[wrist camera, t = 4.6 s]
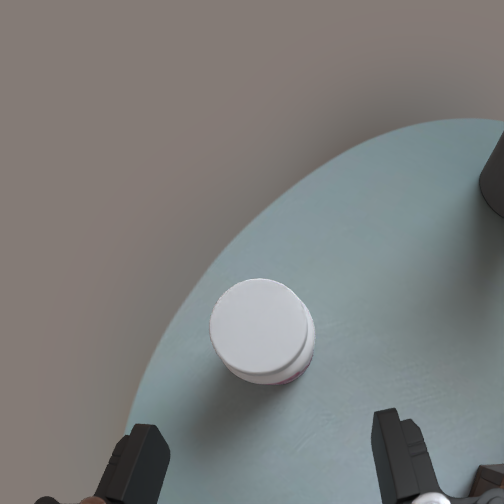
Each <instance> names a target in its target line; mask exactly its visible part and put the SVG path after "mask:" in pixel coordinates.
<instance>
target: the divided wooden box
mask: <svg viewBox="0 0 504 504" xmlns="http://www.w3.org/2000/svg"><path fill="white" fill-rule="evenodd" d="M493 488H501V489H504V464H493V465H480V466H479V469H478V472H477V475H476V478H475V481H474V483H473V486H472V489H471V492H470V494H469V497H479V496H481V495H482V494H483V493H484V492H486V491H487V490H490V489H493Z"/></svg>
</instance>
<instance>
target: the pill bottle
mask: <svg viewBox="0 0 504 504" xmlns="http://www.w3.org/2000/svg"><path fill="white" fill-rule="evenodd" d="M209 332H210V338H211V342H212V345H213V347H214V349H215V351H216V353H217V354H218V355H219V357H220V358H221V359H222V361H223V363H224V364H225V365H226V367H227V368H228V369H229V370H230V371H231V372H232V373H234V374H235V375H236V376H238V377H239V378H241V379H243V380H245V381H248V382H251V383H255V384H262V385H268V384H269V385H280V384H285V383H289V382H291V381H293V380H295V379H296V378H298V377H299V376H301V375H302V374H303V373H304V372H305V370H306V369H307V368H308V366H309V364H310V362H311V360H312V356H313V351H314V344H315V328H314V323H313V320H312V317H311V314H310V312H309V311H308V309H307V308H306V306H305V305H304V303H303V302H302V301H301V300H300V299H299V298H298V297H297V296H296V295H295V293H294V292H293V291H292V290H290V289H289V288H288V287H286V286H285V285H283V284H281V283H279V282H277V281H273V280H269V279H261V278H259V279H250V280H246V281H243V282H240V283H238V284H236V285H234V286H232V287H231V288H229V289H228V290H227V291H226V292H225V293H224V294H223V295H222V296H221V297H220V298H219V300H218V301H217V302H216V304H215V306H214V308H213V311H212V313H211V317H210V323H209Z"/></svg>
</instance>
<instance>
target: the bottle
mask: <svg viewBox="0 0 504 504" xmlns="http://www.w3.org/2000/svg"><path fill="white" fill-rule="evenodd" d="M480 187H481V191H482V194H483V196H484V198H485V199H486V201H487V203H488V204H489V205H490V206H491V208H492V209H493V210H494V211H495V212H496V213H498V214H499V215H500V216H502V217H504V132H503V134H502V135H501V137H500V139H499V141H498V143H497V145H496V147H495V149H494V150H493V152H492V154H491V156H490V158H489V159H488V161H487V163H486V165H485V166H484V168H483V170H482V172H481V175H480Z"/></svg>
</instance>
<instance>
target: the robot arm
mask: <svg viewBox="0 0 504 504" xmlns="http://www.w3.org/2000/svg"><path fill="white" fill-rule="evenodd" d="M371 445H372V451H373V456H374V461H375V466H376V471H377V477H378V482H379V487H380V493H381V499H382V504H504V489H501V488H493V489H490V490H487V491H486V492H484V493H483V494H482V495H481V496H479V497H467V498H454V497H450V496H448V495H446V494H445V493H444V492H443V491H442V490H441V489H440V487H439V485H438V482H437V479H436V475H435V472H434V469H433V466H432V463H431V459H430V456H429V453H428V452H427V447H426V444H425V442H424V438H423V436H422V433H421V430H420V428H419V427H418V426H417V425H416V424H415V423H414V422H413V421H412V420H411V419H407V420H403V421H400V419H399V416H398V413H397V410H396V408H391V409H386V410H381V411H376V412H374V417H373V426H372V433H371ZM169 461H170V449H169V446H168V444H167V443H166V441H165V440H164V438H163V436H162V435H161V433H160V431H159V430H158V428H157V427H156V426H155V425H149V424H135V425H134V427H133V429H132V431H131V433H130V436H129V435H125V436H124V437H123V438H122V439H121V440H120V441H119V442H118V443H117V444H116V447H115V449H114V451H113V453H112V456H111V458H110V460H109V464H108V465H107V467H106V469H105V471H104V474H103V476H102V478H101V481H100V483H99V485H98V488H97V490H96V492H95V494H94V496H92V497H87V498H85V499H83V500H82V501H81V502H80V503H79V504H157V501H158V498H159V495H160V491H161V488H162V484H163V481H164V478H165V474H166V471H167V468H168V465H169ZM35 504H60V503H59V502H57V501H56V500H55V499H54V498H52V497H49V496H45V497H42V498H40V499H38V500H37V501H36V502H35Z"/></svg>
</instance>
